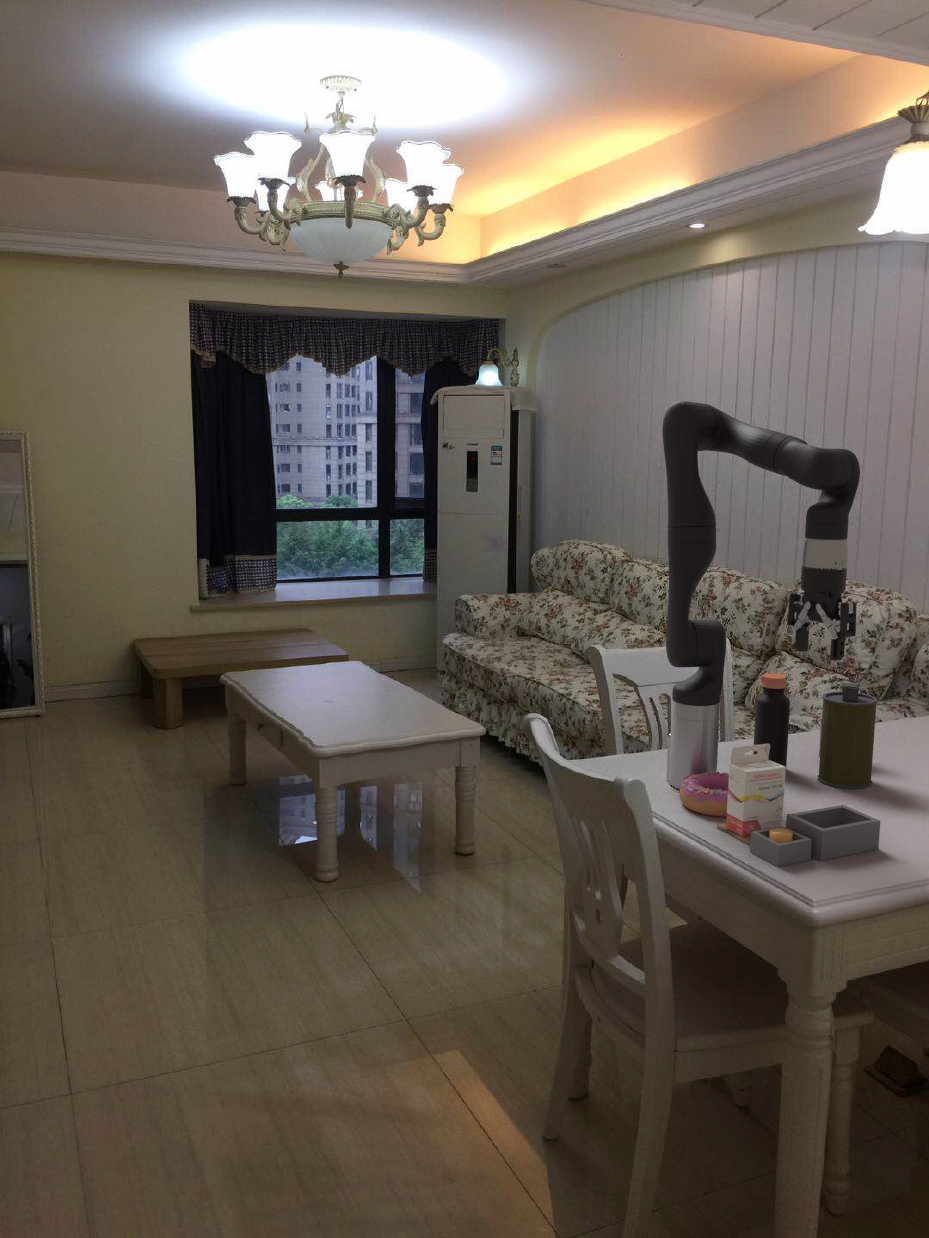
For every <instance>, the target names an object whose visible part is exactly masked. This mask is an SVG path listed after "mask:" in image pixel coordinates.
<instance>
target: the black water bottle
mask: <svg viewBox="0 0 929 1238" xmlns="http://www.w3.org/2000/svg"><path fill="white" fill-rule="evenodd" d="M787 679H788V677H787V676H786V675H783V674H779V673H765V674H762V675H761V689H762V692H761V693H760V694H759V695H758V696H757V697H756V698H755V710H754V711H755V713H754V714H755V715H754V727H753V728H754V732H753V745H760V744H770V750H769V758H768V760H771V761H773V762H775V763H778V764H780V765H783V766H785V767H786V768H787V763H788V762H787V761H788V745H789V744H788V743H789V742H788V741H789V727H790V726H789V725H790V712H791V711H790V710H791V709H790V707H791V700H790V699H789V698H788V697H787V695H786V693H785V691H786V688H787ZM752 752H753V753H752V755H755V754H757V751H752Z"/></svg>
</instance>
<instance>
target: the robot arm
mask: <svg viewBox="0 0 929 1238" xmlns="http://www.w3.org/2000/svg"><path fill="white" fill-rule="evenodd" d="M662 445H663V452H664V453H663V454H664V461H665V470H666V471H665V472H666V473H665V474H666V488H667V489H666V490H667V494H666V495H667V554H668V555H667V558H668V559H667V560H668V596H667V597H668V599H667V615H666V628H665V631H666V632H665V650H666V657H667V660H668V662H669V664H670V665H671V666H673V667H674V668H697V669H698V670H697V671H696V672H695V673H694V674H693V675H691V676H690V677H688V678H685V679H684V680H682V681H679V682H677V683H675V684H674V686H673V688H672V693H671V717H670V718H671V720H670V721H671V722H670V723H671V724H670V733H669V734H668V735H667V736H668V737H667V753H666V754H667V758H666V780H667V779H668V780H667V781H668V783H669V785H670V786H671V785H672V786H671V787H673V786H674V787H673V788H676V789H678V790H680V786H681V784H682V782H683V779H684V778H685V777H686V776H688V775H690V776H691V775H692V774H695V773H701V774H702V773H705V772H709V773H710V772H711V773H712V772H718V771H717V769H718V757H719V756H718V755H719V753H718V750H719V734H720V733H719V732H720V731H719V730H720V712H721V711H720V710H721V709H720V708H721V707H720V706H721V693H722V691H723V684H724V672H725V664H726V662H725V661H726V655H727V654H726V653H727V636H726V635H727V634H726V631H725V628H724V626H723V624H722V623H721V622H720V621H719V620H718V619H717V620H716V619H689V618H690V617H689V616H690V609H691V602H692V599H693V596H694V593H695V592H696V589H697V587H698V586H699V584H700V582H701V580H702V579H703V577H704V576H705V574H706V572H707V571H708V569H709V567H710V566H711V565H712V562H713V560H714V557H715V555H716V552H717V519H716V514H715V510H714V508H713V506H712V503H711V501H710V498H709V496H708V494H707V492H706V490H705V488H704V485H703V482H702V479H701V476H700V472H699V459H698V458H699V454H698V453H699V452H704V451H705V452H716V453H717V452H719V453H727V454H731V455H734V456H737V457H740V458H742V459H744V461H747V462H748V463H750V464H751V465H753V466H755V467H758V468H761V469H763V470H766V471H768V472H771V473H775V474H777V475H780V476H784V477H787V478H788V479H790V480H791V481H794V482H795V483H797V484H799V485H801V486H804V487H806V488H809V489H812V490H816V491H817V490H818V491H820V496H819V499H818V500H817V502H816V503H814V504H812V505H811V506H809V507H808V509H807V510H806V515H805V527H804V528H805V529H804V542H803V547H802V553H801V554H802V555H801V570H800V572H801V574H800V589H801V591H803V592H791V593H790V594H789V601H788V608H787V609H788V611H787V612H788V613H787V619H786V621H787V622H786V623H787V625H788V626H791V627H793V629H794V631H795V641H794V645H795V650H796V652H807V651H808V650H809V639H810V638H809V637H810V636H809V635H810V630H809V629H810V627H811V626H812V624H813V623H815V622H818V623H821V624H823V625H824V627H825V628H826V629H828V631H829V633H830V636H831V637H832V639H830V652H829V653H830V655H829V659H830V660H831V661H834V662H835V661H842V660H843V658H844V657H845V645H846V640H847V638H852V637H855V636H856V634H857V603H856V601H846V602H845V601H843V599H842V594H843V593H844V592H846V587H847V573H848V572H847V571H848V558H849V547H848V535H849V534H848V533H849V515H850V512H851V509H852V506H853V504H854V501H855V498H856V497H855V496H856V494H857V491H858V488H859V485H860V484H859V483H860V477H861V468H860V462H859V459H858V457H857V456H856V454H855V453H854V452H853V451H851V450H849V449H846V448H825V447H824V448H822V447H818V446H814V445H809V443H807V442H806V441H805V439H801V438H799V437H796V436H793V435H789V434H786V433H783V432H780V431H775V430H771V429H767V428H763V427H760V426H756V425H751V424H749V423H746V422H744V421H742V420H739V419H737V418H735V417H733V416H731V415H730V414H727V413H726V412H724V411H722V410H720V409H718V408H716V407H715V406H713V405H711V404H707V403H702V402H698V401H697V402H696V401H690V400H689V401H688V400H678V401H674V403H672V404H671V405H670V406H669V407H668V408H667V410H666V411H665V414H664V417H663V422H662Z"/></svg>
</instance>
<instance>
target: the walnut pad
mask: <svg viewBox="0 0 929 1238" xmlns="http://www.w3.org/2000/svg"><path fill="white" fill-rule="evenodd" d="M716 829H718V830H720V831H722V832H724V833H726V834H728V835H729V836H732V837H734V838H735V839H736V840H739V841H740V842H743V843H745V844H747V845H748V846H750V837H751V836H744V837H742V836H740V835H738V834H736V833H735V832H733V831H731V830H729V829H727V828H726V822H725V823H721V824H720V823H719V824H717V825H716Z"/></svg>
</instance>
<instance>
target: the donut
mask: <svg viewBox="0 0 929 1238" xmlns="http://www.w3.org/2000/svg"><path fill="white" fill-rule="evenodd" d="M728 784H729V772H720V771H717V772H712V773H711V772H710V773H709V772H705V773H702V774H701V773H695V774H692V775H691V776H690V775H688V776H686V777H685V778H684V779H683V782H682V784H681V786H680V789H679V797H680V802H681V803H682V805H683V806H684V807H686V808H687V809H689V810H690V811H693V812H694V811H695V813H697V814H700V815H706V816H711V817H721V818H722V817H723V818H725V817H726V818H727V801H728Z"/></svg>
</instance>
